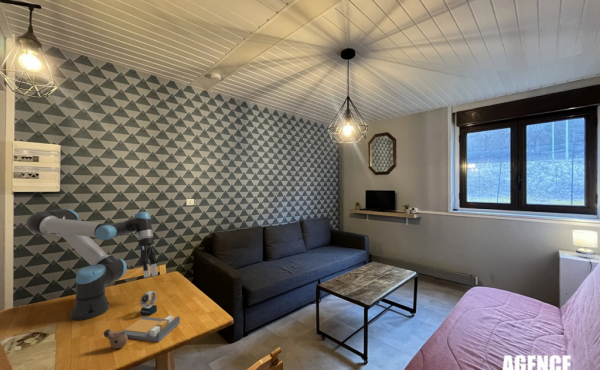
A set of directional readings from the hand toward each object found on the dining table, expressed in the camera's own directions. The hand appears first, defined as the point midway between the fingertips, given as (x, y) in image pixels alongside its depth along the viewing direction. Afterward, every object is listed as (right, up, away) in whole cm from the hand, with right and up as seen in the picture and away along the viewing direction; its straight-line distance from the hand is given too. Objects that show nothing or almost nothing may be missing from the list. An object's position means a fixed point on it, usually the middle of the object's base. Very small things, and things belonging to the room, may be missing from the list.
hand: (151, 276), depth 134 cm
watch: (+3, -17, -7) cm, 19 cm away
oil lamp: (+6, -17, -34) cm, 38 cm away
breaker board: (+13, -17, -21) cm, 30 cm away
